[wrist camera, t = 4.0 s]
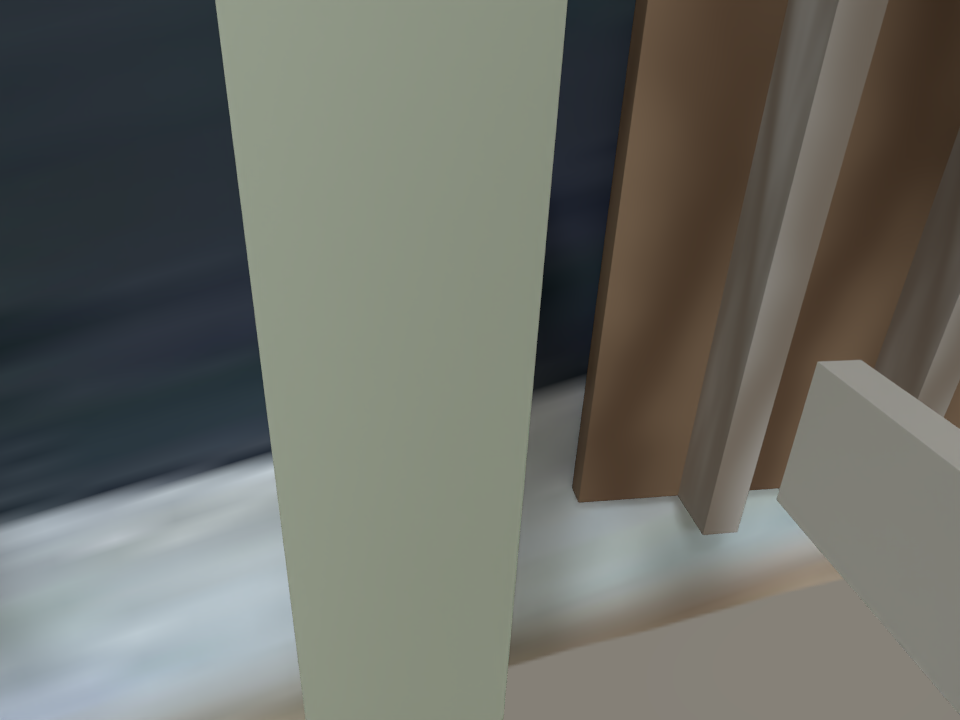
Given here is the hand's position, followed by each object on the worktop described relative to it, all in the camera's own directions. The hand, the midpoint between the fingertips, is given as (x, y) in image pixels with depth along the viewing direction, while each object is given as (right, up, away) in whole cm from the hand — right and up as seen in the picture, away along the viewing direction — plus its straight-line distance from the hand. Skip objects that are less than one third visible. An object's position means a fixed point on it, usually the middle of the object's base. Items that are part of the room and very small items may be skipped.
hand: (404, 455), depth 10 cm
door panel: (-2, +7, +12) cm, 14 cm away
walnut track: (+15, +8, +15) cm, 22 cm away
